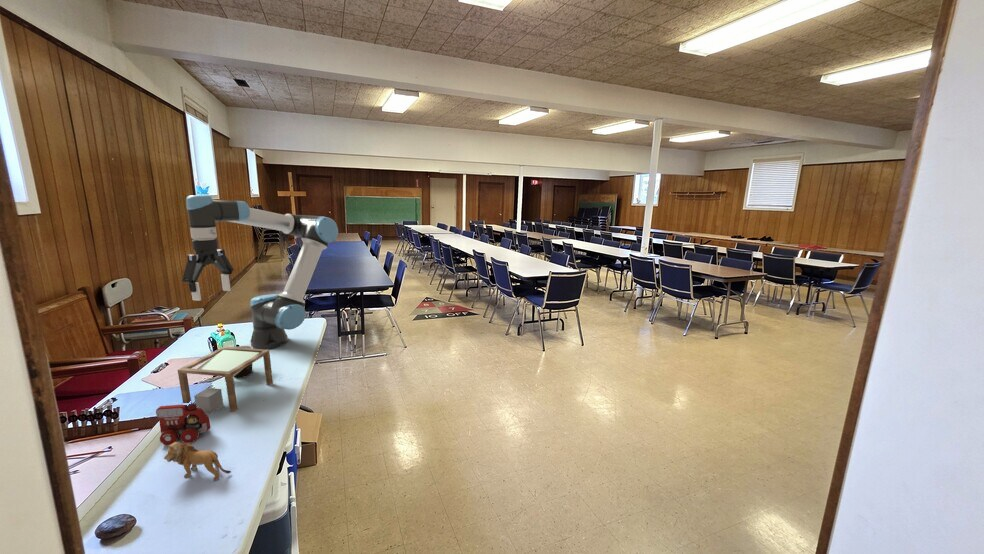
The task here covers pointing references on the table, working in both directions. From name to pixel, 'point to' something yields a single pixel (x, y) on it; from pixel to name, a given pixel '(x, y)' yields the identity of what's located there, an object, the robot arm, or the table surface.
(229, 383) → the frame
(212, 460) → the lion figurine
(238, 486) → the table surface
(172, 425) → the toy fire truck
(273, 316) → the robot arm
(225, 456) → the table surface
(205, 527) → the table surface
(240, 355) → the hatch
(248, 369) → the coffee mug
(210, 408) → the cube
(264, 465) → the table surface
